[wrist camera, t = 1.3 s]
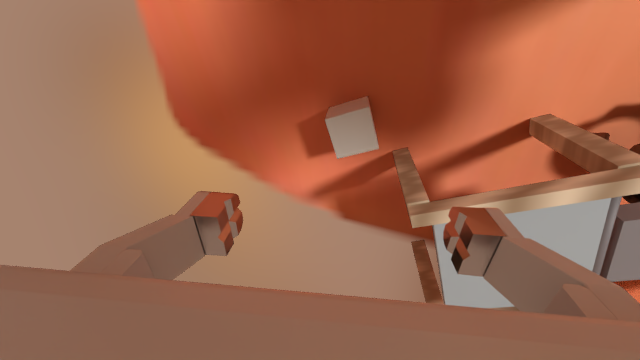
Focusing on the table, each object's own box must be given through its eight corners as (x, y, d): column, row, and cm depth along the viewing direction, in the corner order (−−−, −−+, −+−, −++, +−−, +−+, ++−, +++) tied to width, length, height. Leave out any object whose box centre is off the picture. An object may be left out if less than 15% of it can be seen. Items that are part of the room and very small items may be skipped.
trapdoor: (656, 170, 21) (684, 183, 19) (618, 282, 28) (636, 300, 26) (428, 209, 26) (433, 222, 24) (441, 297, 32) (446, 312, 31)
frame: (550, 113, 29) (672, 169, 18) (537, 234, 38) (614, 323, 27) (392, 151, 34) (409, 213, 23) (413, 250, 43) (433, 331, 32)
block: (367, 95, 31) (369, 106, 27) (376, 133, 33) (379, 148, 29) (328, 107, 32) (324, 119, 28) (339, 142, 35) (337, 158, 31)
